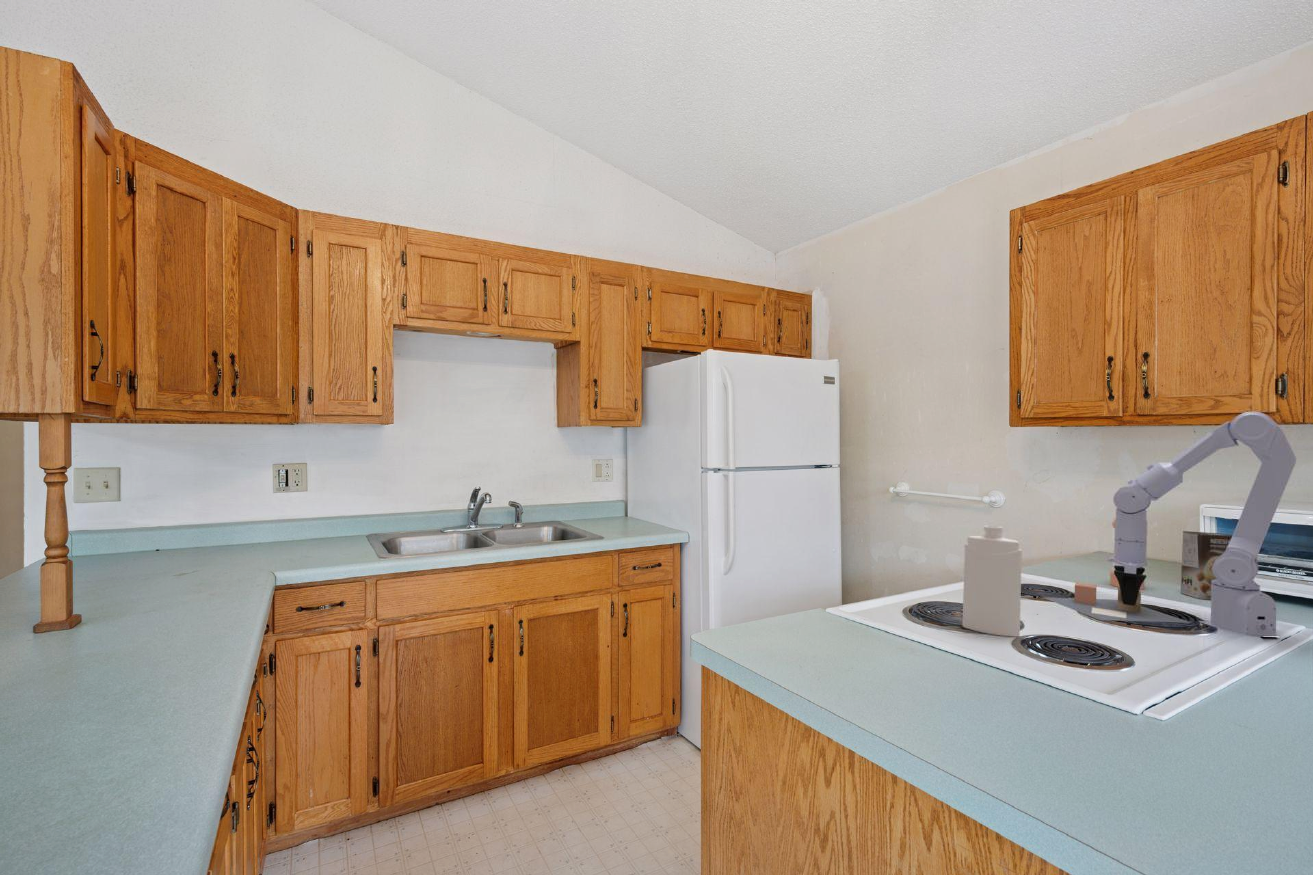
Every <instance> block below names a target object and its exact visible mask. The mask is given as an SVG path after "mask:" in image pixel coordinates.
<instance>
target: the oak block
mask: <svg viewBox="0 0 1313 875" xmlns="http://www.w3.org/2000/svg"><path fill="white" fill-rule="evenodd" d="M1117 600H1118V609H1121V610H1128V611H1135V612H1141V606H1142V605H1141V604H1142V592H1141V590H1139V593H1138V597H1137V601H1136V604H1135V606H1133V605H1126V604H1123V602H1122V598H1121V591H1120V587H1117Z"/></svg>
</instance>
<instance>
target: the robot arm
mask: <svg viewBox="0 0 1313 875" xmlns="http://www.w3.org/2000/svg"><path fill="white" fill-rule="evenodd" d="M1238 441H1239V442H1241V443H1242V444H1244V445H1245V446H1247V447H1248V448H1249V449H1250V450H1251V452H1252V453H1253V454H1254V455H1255V456H1256V457H1257V459H1259V461H1260V462H1261V464H1260V467H1259V469H1258V472H1257V474H1256V477H1255V478H1254V479H1255V480H1254V482H1253V484H1252V487H1251V489H1250V492H1249V494H1248V497H1247V499H1246V501H1245V504H1244V507H1243V509H1242V511H1241V513H1240V517H1239V519H1238V521H1237V523H1236V527H1235V528H1234V531H1233V534H1232V535H1233V536H1232V538H1231V540H1230V542H1229V544H1228V546H1227V549H1226V551H1225V553H1224V554H1222V555H1221V556H1220V557H1219V558H1218V559H1217V560H1216V561H1215V562H1214V564H1213V567H1212V570H1213V573H1214V575H1215V577H1216V578H1217V579H1215V580H1212V583H1211V599H1210V621H1206V620H1205V621H1203V620H1198V622H1199V623H1201V624H1205V625H1208V626H1211V627H1214V628H1218V629H1220V630H1223V631H1227V632H1230V633H1232V634H1235V635H1239V636H1254V637H1255V636H1256V637H1257V636H1258V637H1260V636H1280V635H1278V634H1277V604H1276V602H1275V599H1274V598H1273V597H1272V596H1270V595H1268V594H1267V593H1264V592H1263V591H1262V590H1260V589H1261V586H1260V585H1259V584H1258V583H1257V582H1255V578H1256V576H1257V575H1258V573H1259V564H1258V555H1259V553H1260V550H1261V548H1262V545H1263V542H1264V540H1265V538H1266V535H1267V534H1268V530H1269V528H1270V526H1271V524H1272V520H1273V519H1274V516H1275V514H1276V512H1277V509H1278V506H1279V505H1280V502H1281V499H1282V497H1283V494H1284V492H1285V490H1286V487H1287V485H1288V482H1289V480H1290V478H1291V475H1292V474H1293V470H1294V468H1295V465H1296V464H1297V457H1296V455H1295V453H1294V451H1293V448H1292V446H1291V444H1290V442H1289V440H1288V438H1287V436H1286V434H1285V432H1284V430H1283V428H1282V427H1281V426H1280V425H1279V424H1278V423H1276V421H1274V419H1272V418H1271V417H1270V416H1269V415H1267V414H1265V413H1263V412H1259V411H1246V412H1242V413H1241V414H1238V415H1237V416H1235V417H1234V418H1233V419H1232V420H1231V421H1226V422H1224V423H1222V424H1221V425H1219V426H1218V427H1216V428H1215V429H1213V430H1211V431H1210V432H1208V433H1207V434H1205V435H1204V436H1203V437H1202V438H1200V439H1199V440H1198V441H1196V442H1195V443H1194V444H1193V445H1191V446H1190V447H1189V448H1187V449H1186V450H1184V451H1183V452H1182V453H1180V455H1178V456H1177V457H1175V458H1173V460H1171V461H1170V462H1161V461H1160V462H1157V463H1156V464H1153V463H1151V464H1149V465H1148V466H1146V469H1147V470H1146V471H1145V472H1143V473H1142V474H1141V475H1139V476H1138V477H1137V478H1135V479H1134V480H1133V479H1130V480H1128V481H1127V484H1128V485H1126V486H1121V487H1119V488H1118V490H1117V491H1116V492H1115V493H1114V495H1113V504H1114V506H1115V507H1116V509H1115V510H1116V511H1115V518H1114V520H1115V528H1114V547H1113V553H1114V558H1112V556H1111V557H1110V556H1109V557H1108V556H1107V561H1108V562H1111V563H1112V562H1114V563H1117V564H1119V565H1122V566H1117V565H1115V566H1114V568H1115V570H1114V574H1115V576H1116V578H1117V580H1118V583H1119V586H1120V587H1119V588H1120V591H1121V598H1122V602H1123V604H1126V605H1133V606H1135V604H1136V601H1137V597H1138V593H1139V591H1141V590H1140V587H1141V585H1142V583H1143V581H1144V582H1145V581H1146V578H1147V575H1146V574H1144V572H1145V571H1146V569H1145V567H1147V566H1148V562H1147V547H1148V542H1147V540H1148V539H1147V538H1148V537H1147V536H1148V521H1147V509H1148V508H1149V507H1150V505H1151V503H1152V501H1157V500H1159V499H1161V498H1162V497H1163V496H1164V495H1166V494H1168V492H1171V491H1172V490H1173V489H1175V488H1176V487H1178V486H1179V485H1181V484H1182V483H1183V480H1184V473H1185V472H1187V471H1189V470H1190V469H1192V468H1194V467H1195V466H1197V465H1198V464H1199V463H1201V462H1203V461H1204V460H1206V459H1207V458H1209V457H1210V456H1211V455H1213V454H1215V453H1216V452H1218V451H1219V450H1222V449H1227V448H1232V447H1237V446H1240V445H1239V443H1238ZM1142 574H1143V575H1142Z"/></svg>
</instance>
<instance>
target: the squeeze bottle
mask: <svg viewBox="0 0 1313 875" xmlns="http://www.w3.org/2000/svg"><path fill="white" fill-rule="evenodd" d="M983 532H984V534H983V535H969V536H967V541H966V542H967V543H965V544H964V560H963V561H964V563H963V567H964V568H963V593H962V594H963V600H962V625H961V626H962V627H963V628H965V629H968V630H971V631H974V632H977V633H978V632H979V633H983V634H988V635H993V636H994V635H995V636H1002V637H1010V638H1017V637H1019V636H1020V632H1021V627H1020V626H1021V598H1022V596H1021V595H1022V594H1021V593H1022V592H1021V591H1022V560H1023V558H1022V553H1023V550H1022V549H1021V548H1020V542H1019V541H1018V540H1015V539H1010V538H1006V537H1003V535H1002V534H1003V533H1004V527H1002V526H998V525H996V526H995V525H983Z"/></svg>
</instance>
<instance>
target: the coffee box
mask: <svg viewBox="0 0 1313 875" xmlns="http://www.w3.org/2000/svg"><path fill="white" fill-rule="evenodd" d="M1232 536H1233V534H1227V533H1221V532H1220V533H1219V532H1206V531H1205V532H1204V531H1203V532H1202V531H1187V530H1184V531H1182V545H1181V546H1182V547H1181V548H1182V550H1181V552H1182V553H1181V571H1180V572H1181V573H1180V574H1181V577H1180V594H1183V595H1186V596H1188V597H1192V598H1195V599H1197V600H1198V599H1199V600H1211V583H1212V580H1215V579H1217V578H1216V577H1215V575H1214V573H1213V570H1212V567H1213V564H1214V562H1215V561H1216V560H1217V559H1218V558H1219V557H1220V556H1221V555H1222V554H1224V553H1225V551H1226V549H1227V546H1228V544H1229V542H1230V540H1231V538H1232Z"/></svg>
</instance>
